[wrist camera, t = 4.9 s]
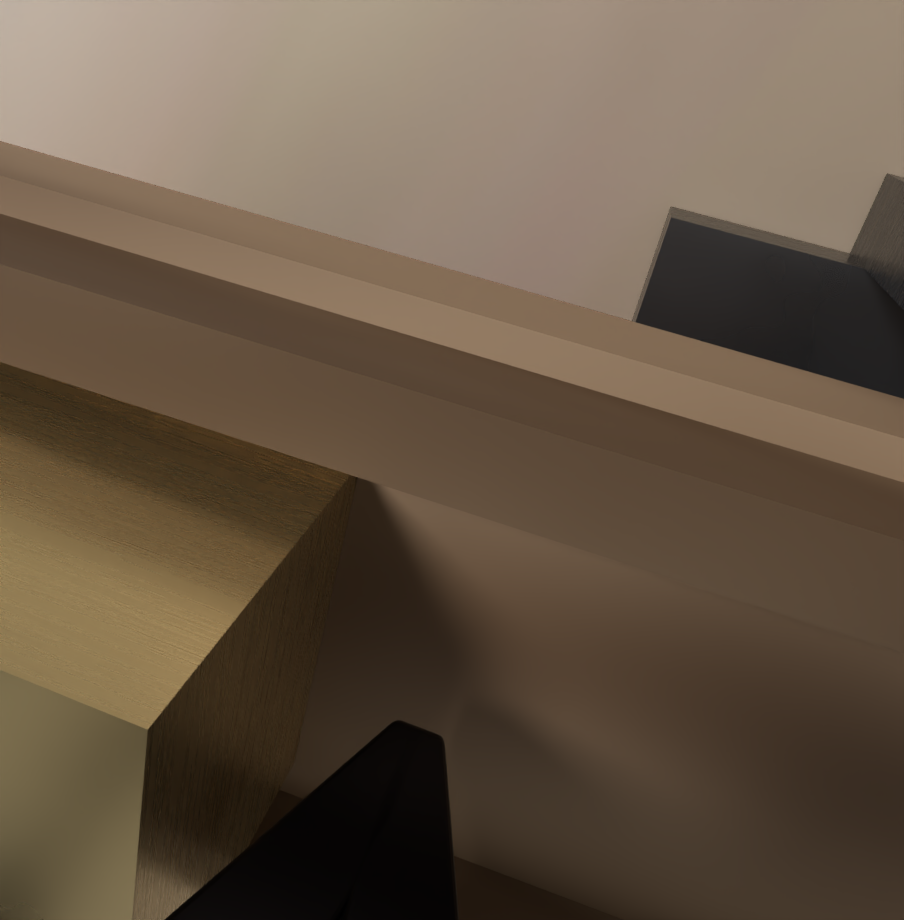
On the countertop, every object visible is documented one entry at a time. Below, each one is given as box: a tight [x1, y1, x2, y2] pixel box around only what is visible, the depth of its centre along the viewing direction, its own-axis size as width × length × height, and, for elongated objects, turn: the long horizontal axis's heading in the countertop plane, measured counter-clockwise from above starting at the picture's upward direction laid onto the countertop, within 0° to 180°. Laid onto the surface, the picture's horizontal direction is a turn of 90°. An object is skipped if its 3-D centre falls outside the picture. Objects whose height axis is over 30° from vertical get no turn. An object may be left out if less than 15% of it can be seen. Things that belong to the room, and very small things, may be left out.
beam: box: [0, 141, 904, 920], centre depth 9 cm, size 9×28×4 cm, turn 78°
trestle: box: [632, 174, 904, 399], centre depth 12 cm, size 12×8×6 cm, turn 168°
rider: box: [0, 362, 357, 920], centre depth 8 cm, size 5×5×4 cm
